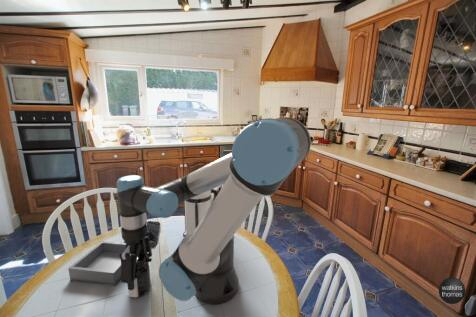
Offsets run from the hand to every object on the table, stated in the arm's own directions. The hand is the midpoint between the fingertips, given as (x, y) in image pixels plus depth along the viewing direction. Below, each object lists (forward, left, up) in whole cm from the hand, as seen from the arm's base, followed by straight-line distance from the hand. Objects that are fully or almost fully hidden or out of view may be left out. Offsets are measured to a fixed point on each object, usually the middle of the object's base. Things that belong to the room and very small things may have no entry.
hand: (140, 287), depth 79 cm
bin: (+18, -9, -1) cm, 20 cm away
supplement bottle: (0, 0, -1) cm, 1 cm away
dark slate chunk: (+16, -31, -2) cm, 35 cm away
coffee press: (-10, -37, -1) cm, 38 cm away
